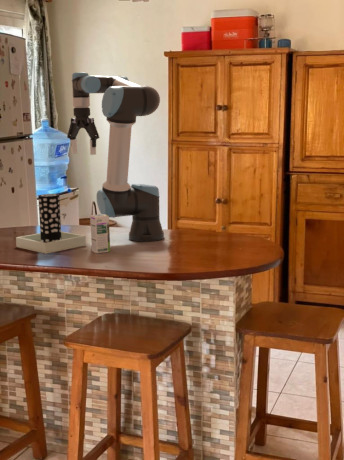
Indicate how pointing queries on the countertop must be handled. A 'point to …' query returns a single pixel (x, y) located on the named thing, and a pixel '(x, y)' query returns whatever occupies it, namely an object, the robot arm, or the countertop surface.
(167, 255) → the countertop surface
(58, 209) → the spotted tube
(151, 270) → the countertop surface
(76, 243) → the tray
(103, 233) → the syrup box
